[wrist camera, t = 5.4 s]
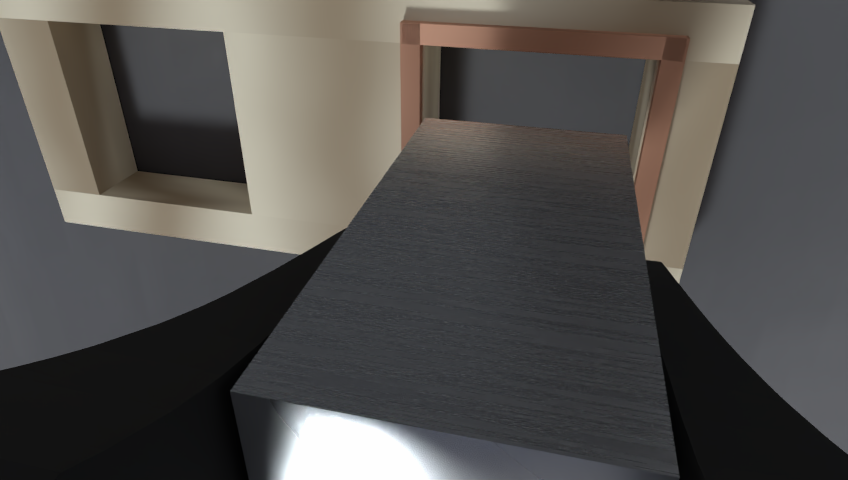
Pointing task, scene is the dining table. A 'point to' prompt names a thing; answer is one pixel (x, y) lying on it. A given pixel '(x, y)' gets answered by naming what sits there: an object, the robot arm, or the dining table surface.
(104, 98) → the slotted block
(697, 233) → the dining table surface
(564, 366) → the peg
